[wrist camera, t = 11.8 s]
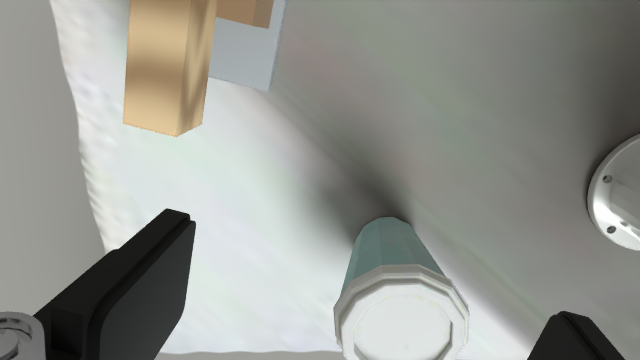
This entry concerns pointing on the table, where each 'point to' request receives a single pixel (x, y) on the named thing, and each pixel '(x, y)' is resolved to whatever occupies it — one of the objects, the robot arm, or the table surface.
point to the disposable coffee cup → (398, 300)
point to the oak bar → (168, 64)
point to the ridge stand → (246, 41)
